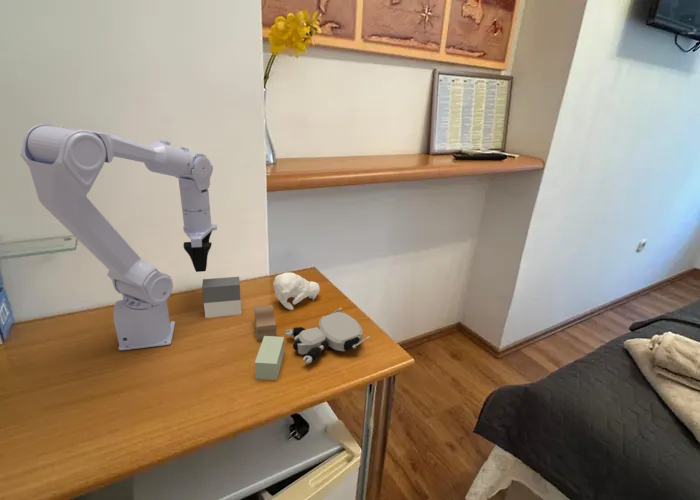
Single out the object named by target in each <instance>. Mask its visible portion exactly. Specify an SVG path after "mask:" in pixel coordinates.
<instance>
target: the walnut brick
mask: <svg viewBox="0 0 700 500" xmlns="http://www.w3.org/2000/svg"><path fill="white" fill-rule="evenodd" d="M253 310H254V311H253V312H254V323H255V324H254V326H255V333H256V342H257V343H260V342H261V343H262V341H263V338H264V336H276V337H277V322H276V316H275V312H274V307H273V304H265V305H263V304H262V305H254V306H253Z"/></svg>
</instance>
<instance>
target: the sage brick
mask: <svg viewBox="0 0 700 500" xmlns="http://www.w3.org/2000/svg"><path fill="white" fill-rule="evenodd" d="M284 354H285V337H284V336H277V335H276V336H264V338H263V341H261V344H260V346H259V350H258V352H257V354H256V357H255V361H254V378H255V380H264V381H265V380H268V381H269V380H270V381H278V379H279V378H278V377H279V375H280V371H281V370H280V369H281V366H282V363H283V359H284Z"/></svg>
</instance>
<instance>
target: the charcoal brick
mask: <svg viewBox="0 0 700 500" xmlns="http://www.w3.org/2000/svg"><path fill="white" fill-rule="evenodd" d="M240 283H241V282H240V276H230V277H216V278H203V279H202V287H201V289H202V298H203V299H202V300H203V301H202V302H203V304H204V303H213V302H224V301H235V300H241V301H242V297H240V295H241V284H240Z"/></svg>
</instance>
